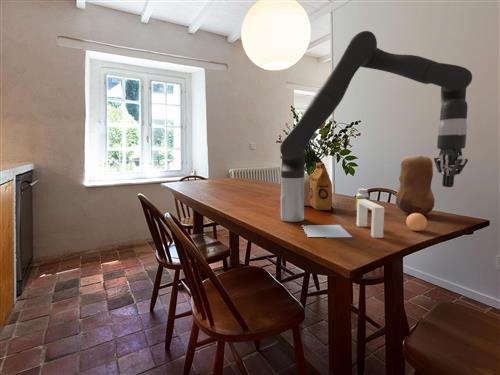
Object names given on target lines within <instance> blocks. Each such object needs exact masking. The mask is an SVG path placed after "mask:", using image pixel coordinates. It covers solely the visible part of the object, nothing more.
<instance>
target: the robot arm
mask: <svg viewBox="0 0 500 375" xmlns="http://www.w3.org/2000/svg"><path fill="white" fill-rule="evenodd" d="M360 68H367V69H371V70H377V71H383V72H386V73H391V74H394V75H398V76H400V77H402V78H403V77H404V78H407V79H409V80H412V81H415V82H418V83H421V84H424V85H429V84H430V85H435V86H438V87H440V103H441V105H440V106H441V107H440V116H439V123H438V129H437V143H436V145H437V146H436V149H438V150H439V156H437V157H434V158H433V161H434V165H435V167H436V169H437V172H438V173H439V174H441V175H442V181H441V182H442V187H444V188H445V187H446V188H453V187H454V184H455V183H454V182H455V177H456V175H460V174H461V173H462V171H463V169H464V168H465V166H466V165H467V163H468V161H469V160H468V158H464V157H463V152H462V149H463V150H464V149H466V143H467V141H466V140H467V133H468V132H467V131H468V122H467V120H468V119H467V118H468V109H469V108H468V102H467V101H466V97H467V88H468V87H469V86H470V85H471V83H472V81H473V74H472V72H471V71H470V70H469V69H468V68H466V67H464V66H460V65H456V64H450V63H443V62H438V61H436V60H432V59H429V58H425V57H424V56H418V55H416V54H415V55H414V54H396V53H391V52H387V51H384V50H382V49H380V48H378V41H377V37H376V35H375V33H373V32H372V31H369V30H363V31H360V32H359V33H357V34H356V35H354V36H353V37H352V38H351V40H350V41H349V43H348V44H347V46H346V48H345V50H344V52H343V53H342V56H340V58H339V60H338V62H337V63H336V65H335V67H334V68H333V69H332V70H331V72H330V73H329V75H328V76H327V77H326V79H325V80H324V82H323V83H322V84H321V86H320V87H319V88H318V90H317V91H316V93H315V94H314V96H313V97H312V99H311V100H310V102H309V104H308V105H307V107H306V109H305V110H304V112H303V113H302V115H301V117H300V119H299V121H298V122H297V123H296V125H295V126H294V127H293V129H292V130H291V131H290V132H289V133H288V134H287V135H286V137H285V138H284V139H283V140H282V142H281V144H280V147H279V152H280V154H281V170H280V219H281V221H282V222H293V223H294V222H303V221H304V220H305V171H306V170H305V169H306V165H305V164H306V162H305V161H306V148H307V146H308V144H309V142H310V141H311V140H312V138H313V136H314V134H315V133H316V132H317V131H318V130H319V129H320V127H321V126H323V124H325V123H326V122H327V120H328V119H329V118H330V117H331V116H332V114H333V113H334V112H335V110H336V109H337V108H338V106H339V105H340V103H341V102H342V101H343V98H344V96H345V94H346V92H347V91H348V88H349V86H350V84H351V81H352V79H353V77H354V76H355V75H356V73H357V71H359V70H360Z"/></svg>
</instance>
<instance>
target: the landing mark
mask: <svg viewBox="0 0 500 375" xmlns="http://www.w3.org/2000/svg"><path fill="white" fill-rule="evenodd" d="M304 225H305V226H304ZM306 225H307V224H302V225H301V226H300V227H301V228H302V227H303V228H302V229H304V230H303V231H304V233H305V235H306V234H307V235H306V236H307V238H308V237H326V238H353V235H351V234H350V233H349V232H348V231H347V230H345V228H343V227H342V226H341V225H340V224H317V225H316V224H315V225H314V224H313V225H312V224H309V225H307V226H306Z"/></svg>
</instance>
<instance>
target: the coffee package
mask: <svg viewBox="0 0 500 375" xmlns="http://www.w3.org/2000/svg"><path fill="white" fill-rule="evenodd" d="M315 163H316V162H315ZM316 166H317V167H316V169H315V170H314V169H313V170H314V172H313V171H312V172H313V173H312V172H311V173H312V174H311V173H310V175H311V178H310V189H309V188H308V193H309V197H308V199H309V198H310V204H311V205H310V206H311V207H312V208H313V209H315V211H331V210H332V195H333V193H332V185H331V178H330V175H329V172H328V169H327V167H326V165H325V163H324V162H318V163H316Z"/></svg>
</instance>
